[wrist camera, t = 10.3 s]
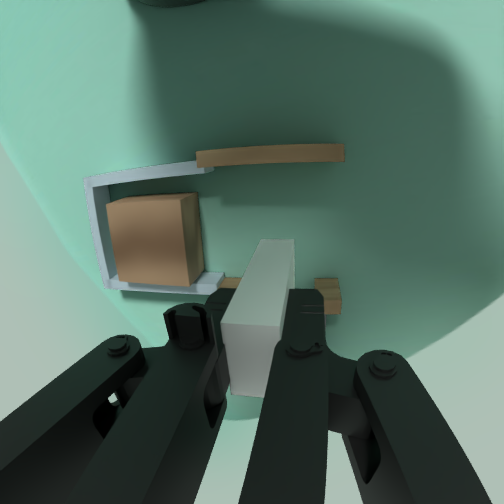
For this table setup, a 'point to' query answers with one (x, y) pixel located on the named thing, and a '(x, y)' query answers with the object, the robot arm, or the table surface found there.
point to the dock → (100, 229)
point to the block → (157, 238)
